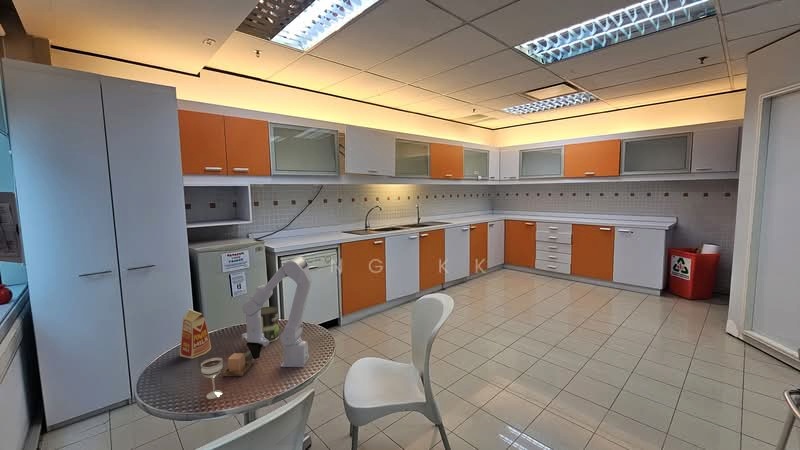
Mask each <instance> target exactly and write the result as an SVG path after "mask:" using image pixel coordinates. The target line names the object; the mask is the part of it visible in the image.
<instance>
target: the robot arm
mask: <svg viewBox="0 0 800 450" xmlns="http://www.w3.org/2000/svg"><path fill="white" fill-rule="evenodd" d="M309 264H310V263H309V262H308V261H307V260H306V259H305V257H303V256H301V255H297V256H295V257H294V258H292V259H290V260H288V261H286V262H285V263H284V264H283V265H282V266H280V267H279V268H278V270H277V271H276V272H275V273H274V274H273V276H271V278H270V280H269V281H268V282H267V283H266V284H262V285H259V286H257V287H256V291H255V292H254V293H253V294H250V295H249V300H247V301H245V302H244V303H243V304H242V307H241V309H242V312H243V313H244V314H245V324H246V325H245V326H246V332H244V333H242V334H241V339H242V340H245V341H247V343H246V347H247V348H248V350H250V352H251V354H252V359H253V360H257V359H259V358H260V355H261V351H262V347H267V346H268V345H270V342H269V340H267V339H266V338H265V337H264V334H263V333H262V325H261V308H263V306H264V304H265V303H266V302H267V301H268V300H269V299H270V298H271V296H273V293H274V292H273V291H274V288H275V287H277V285H279V283H280V282H281V281H282V280H283V279H284V278H290V279H291V280H293V281H294V282H295V283H296V288H295V293H294V297H293V300H292V305H291V309H290V313H289V316H288V320H287V322H286V324H285V326H284V329H283V331H282V332H281V333H280V334H279V339H280V343H281V344H282V347H283V362H282V363H281V364H280V367H281V368H304V367H305V366H306V363H307V361H308V360H309V358H310V356H309V344H308V343H309V342H308V341H306V340H302V334H303V332H304V327H303V325H304V324H303V323H304V321H303V316H304V311H305V308H306V305H307V301H308V298H309V297H308V296H309V292H310V289H311V285H312V276H311V272H310V268H309Z"/></svg>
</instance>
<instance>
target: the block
mask: <svg viewBox="0 0 800 450" xmlns="http://www.w3.org/2000/svg"><path fill="white" fill-rule="evenodd" d="M245 353H246V352H244V353H241V352H240V353H236V352H235V353H232V355H230V356H229V357H228V358H227V363H228V365H227V368H228V367H229V372H241V371H242V370H243V369H244V368H245V367H246V366H245Z"/></svg>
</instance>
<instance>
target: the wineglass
mask: <svg viewBox="0 0 800 450" xmlns="http://www.w3.org/2000/svg"><path fill="white" fill-rule="evenodd" d="M200 367H201V368H200V372H201V375H202V376H203V377H205V378H206V379H207V378H209V379H211V384H212V388H213V389H212V390H213V391H210V392H209V393H207V394H206V399H208V400H211V399H213V400H214V399H217V398H219V397H221V396H222V395H223V391H222V390H221V389H219V390H218V389H217V390H216V386H215V385H216V383H215V378H216V377H218V375H220V374H221V372H222V371H223V368H224V364H223V358H222V357H212V358H209V359H205V360H203V361H202V362H201V363H200Z"/></svg>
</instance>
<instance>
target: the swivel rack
mask: <svg viewBox="0 0 800 450" xmlns="http://www.w3.org/2000/svg"><path fill="white" fill-rule="evenodd" d="M244 353H245V366H246V367H245V368H244V369H243V370H242V371H241V372H229V367H228V366H227V367H226V369H225V370H224V371H223V372H222V376H223V377H243V376H244V375H245V373H246V372H247V371H248V370H249V368H251V366H252V362H249V361H251V359H253V357H252V354H251V352H250V350H249V349H248V350H246V352H244Z"/></svg>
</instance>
